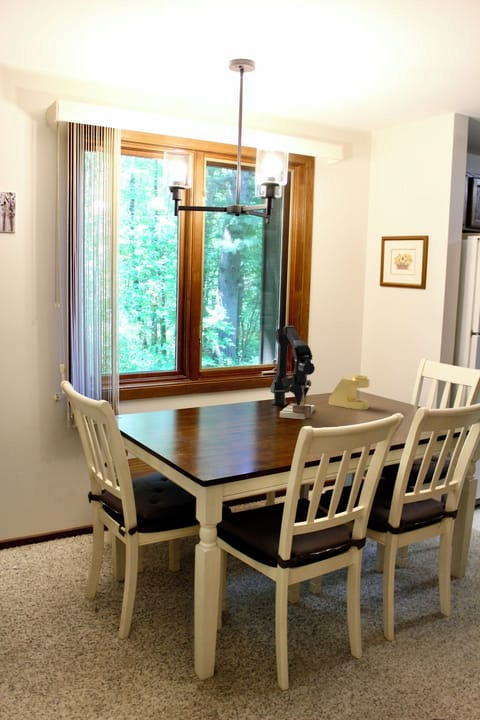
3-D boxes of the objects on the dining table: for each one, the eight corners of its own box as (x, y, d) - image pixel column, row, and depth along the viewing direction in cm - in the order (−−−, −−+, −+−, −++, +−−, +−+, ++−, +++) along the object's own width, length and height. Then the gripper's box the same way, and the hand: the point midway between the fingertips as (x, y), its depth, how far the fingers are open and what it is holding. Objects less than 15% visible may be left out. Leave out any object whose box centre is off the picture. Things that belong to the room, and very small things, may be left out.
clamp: (371, 407, 336) (373, 376, 334) (362, 410, 329) (363, 378, 327) (338, 401, 349) (339, 371, 347) (328, 404, 342) (329, 373, 340)
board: (290, 408, 333) (291, 403, 332) (314, 410, 329) (314, 405, 328) (279, 417, 314) (279, 411, 314) (304, 419, 310) (304, 414, 310)
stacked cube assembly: (294, 414, 317) (295, 393, 316) (311, 415, 315) (311, 394, 313) (291, 416, 313) (292, 395, 311) (308, 417, 310) (309, 396, 309)
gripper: (289, 367, 322) (288, 398, 324) (278, 373, 305) (278, 406, 307) (311, 368, 318) (311, 400, 321) (302, 374, 301) (301, 408, 303)
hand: (300, 403), depth 313 cm, fingers open, 6 cm apart
